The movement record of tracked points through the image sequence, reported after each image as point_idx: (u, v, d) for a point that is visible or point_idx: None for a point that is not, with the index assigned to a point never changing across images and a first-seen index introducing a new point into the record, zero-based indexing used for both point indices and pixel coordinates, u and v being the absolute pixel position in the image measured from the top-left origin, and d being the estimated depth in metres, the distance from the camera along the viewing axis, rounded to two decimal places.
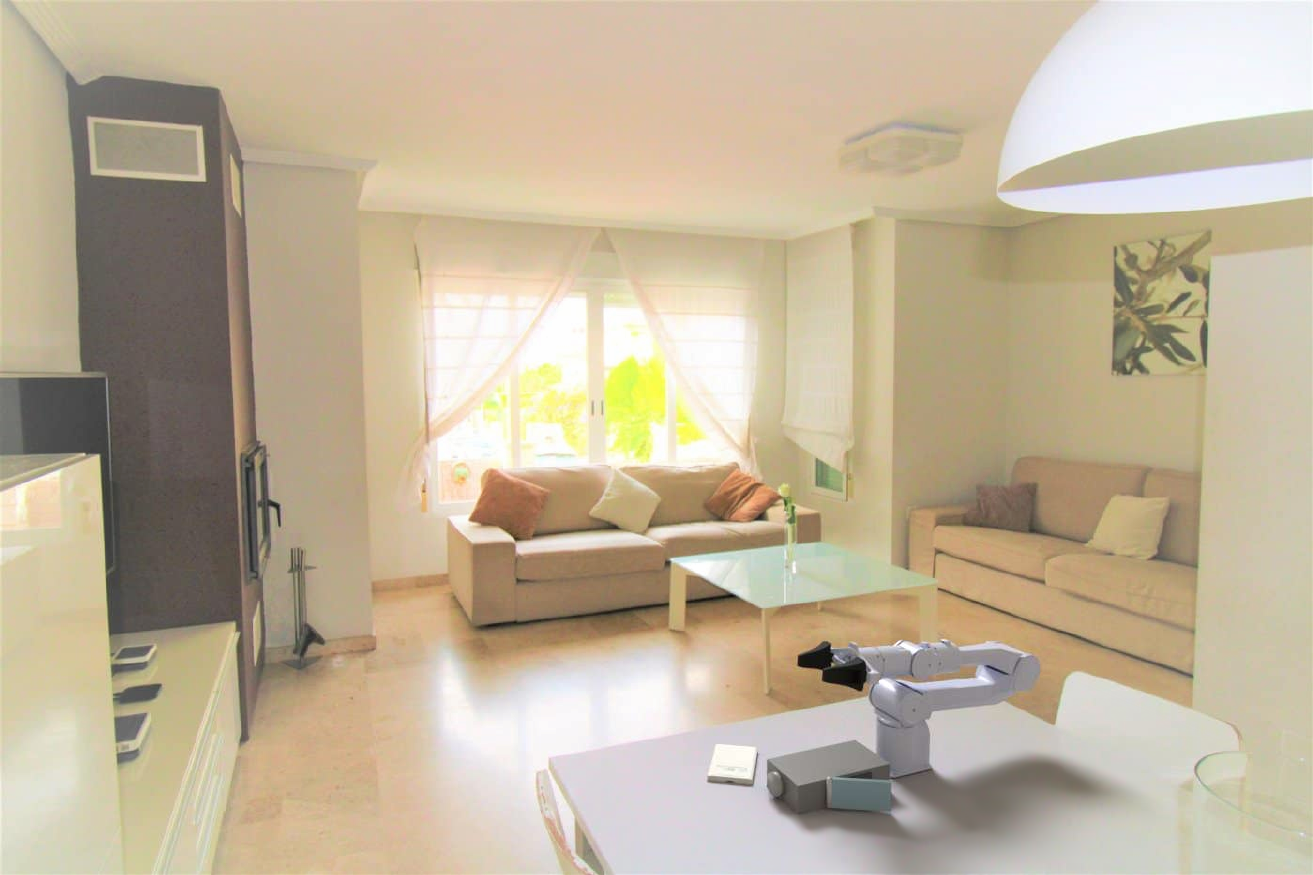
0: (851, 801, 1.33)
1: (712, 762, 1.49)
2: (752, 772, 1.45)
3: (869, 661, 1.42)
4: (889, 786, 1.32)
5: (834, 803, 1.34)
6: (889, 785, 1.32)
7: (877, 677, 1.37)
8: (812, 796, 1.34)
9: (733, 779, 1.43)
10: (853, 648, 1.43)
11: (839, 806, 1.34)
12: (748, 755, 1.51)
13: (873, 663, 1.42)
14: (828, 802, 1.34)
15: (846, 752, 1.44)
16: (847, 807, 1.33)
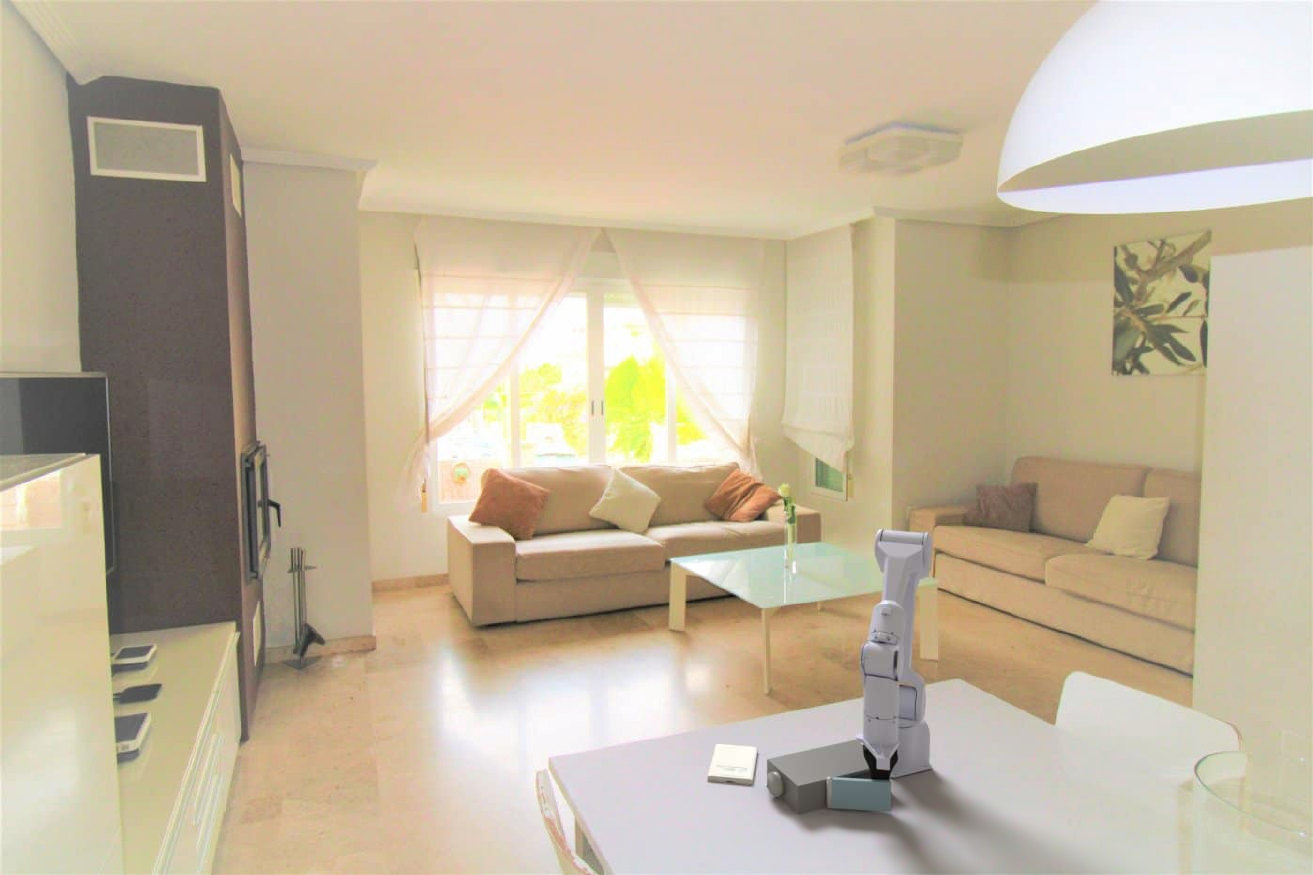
0: (851, 801, 1.33)
1: (712, 762, 1.49)
2: (752, 772, 1.45)
3: (873, 735, 1.32)
4: (889, 786, 1.32)
5: (834, 803, 1.34)
6: (889, 785, 1.32)
7: (881, 760, 1.27)
8: (812, 796, 1.34)
9: (733, 779, 1.43)
10: None
11: (839, 806, 1.34)
12: (748, 755, 1.51)
13: (875, 731, 1.31)
14: (828, 802, 1.34)
15: (846, 752, 1.44)
16: (847, 807, 1.33)
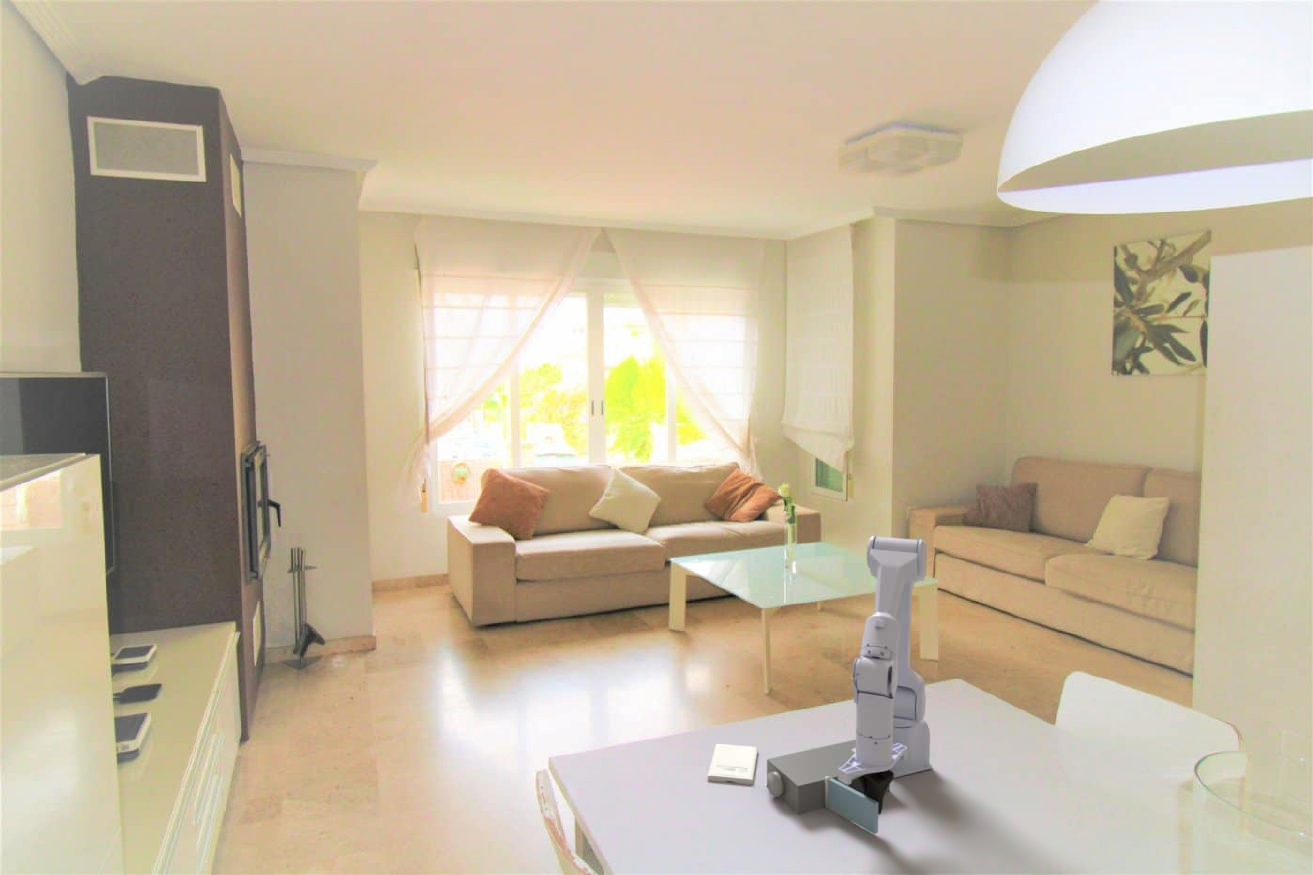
0: (842, 808, 1.31)
1: (712, 762, 1.49)
2: (752, 772, 1.45)
3: (856, 750, 1.27)
4: (873, 807, 1.26)
5: (829, 804, 1.33)
6: (873, 805, 1.26)
7: (841, 772, 1.24)
8: (812, 796, 1.34)
9: (733, 779, 1.43)
10: None
11: (833, 809, 1.33)
12: (748, 755, 1.51)
13: (858, 746, 1.26)
14: None
15: (846, 752, 1.44)
16: (839, 813, 1.32)
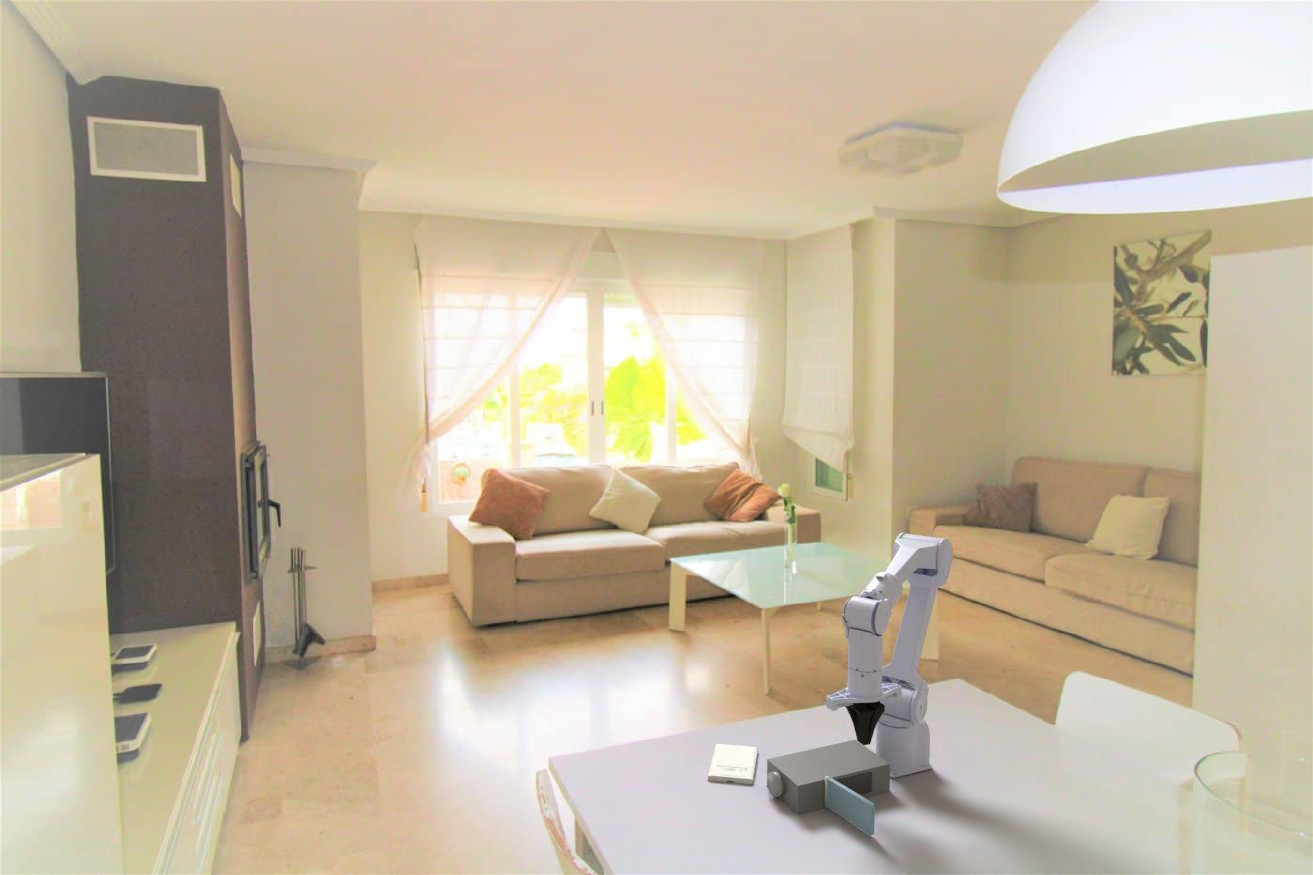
0: (841, 808, 1.31)
1: (712, 762, 1.49)
2: (752, 772, 1.45)
3: None
4: (869, 808, 1.26)
5: (829, 804, 1.33)
6: (869, 807, 1.26)
7: (828, 699, 1.35)
8: (812, 796, 1.34)
9: (734, 779, 1.43)
10: None
11: (832, 809, 1.33)
12: (748, 755, 1.51)
13: (848, 678, 1.37)
14: None
15: (846, 752, 1.44)
16: (838, 813, 1.32)
